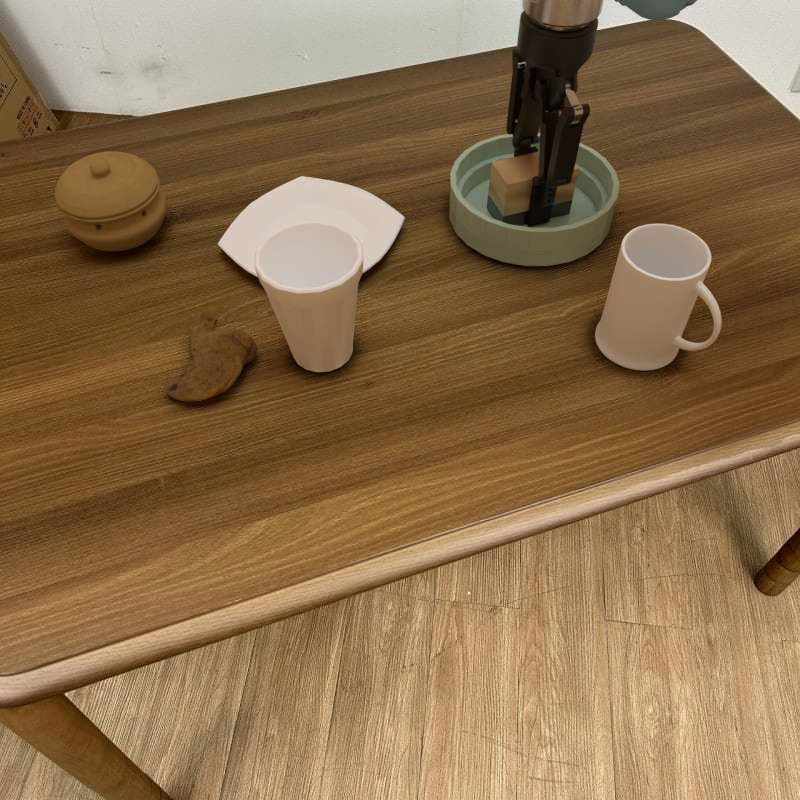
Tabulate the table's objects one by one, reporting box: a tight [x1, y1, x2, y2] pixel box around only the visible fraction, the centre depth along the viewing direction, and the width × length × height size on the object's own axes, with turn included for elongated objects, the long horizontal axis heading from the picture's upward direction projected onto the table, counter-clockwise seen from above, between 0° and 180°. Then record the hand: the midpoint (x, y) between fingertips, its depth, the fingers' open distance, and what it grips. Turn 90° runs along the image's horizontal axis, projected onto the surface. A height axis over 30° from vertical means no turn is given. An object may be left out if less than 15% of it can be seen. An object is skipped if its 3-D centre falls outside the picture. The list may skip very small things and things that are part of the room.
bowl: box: [448, 132, 620, 267], centre depth 89 cm, size 19×19×6 cm
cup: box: [254, 221, 364, 373], centre depth 72 cm, size 10×10×13 cm
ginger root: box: [165, 310, 258, 403], centre depth 75 cm, size 10×10×4 cm
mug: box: [594, 223, 723, 372], centre depth 72 cm, size 12×8×12 cm
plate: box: [217, 175, 406, 278], centre depth 88 cm, size 19×19×2 cm
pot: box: [54, 150, 167, 253], centre depth 86 cm, size 12×12×10 cm
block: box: [487, 152, 579, 226], centre depth 88 cm, size 9×4×6 cm, turn 109°
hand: (528, 208), depth 90 cm, fingers closed on block, 4 cm apart
